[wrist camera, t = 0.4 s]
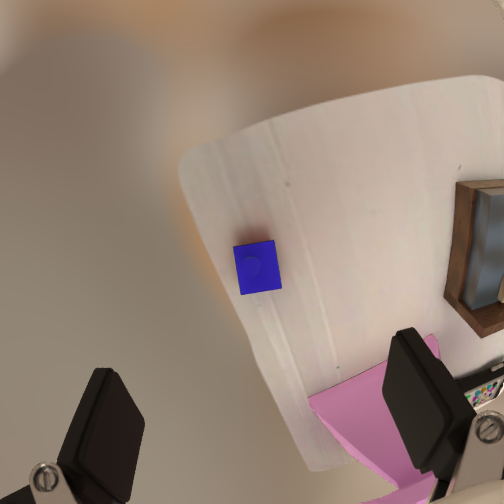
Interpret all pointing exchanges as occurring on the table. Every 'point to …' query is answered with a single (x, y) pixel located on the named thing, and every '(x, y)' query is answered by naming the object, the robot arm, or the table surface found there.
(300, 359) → the table surface
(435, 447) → the robot arm
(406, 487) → the pink table lamp
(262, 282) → the toy building block
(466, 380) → the phone
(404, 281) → the table surface
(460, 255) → the doll bed
